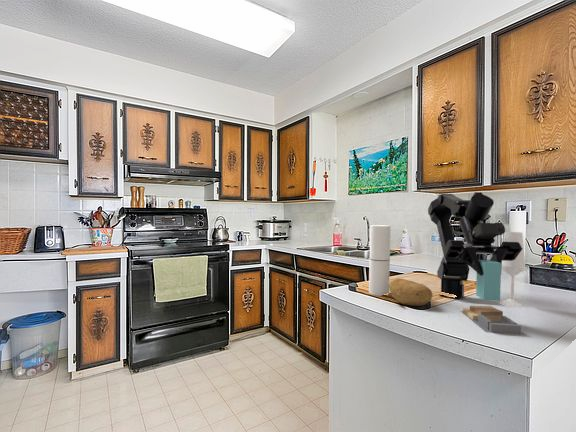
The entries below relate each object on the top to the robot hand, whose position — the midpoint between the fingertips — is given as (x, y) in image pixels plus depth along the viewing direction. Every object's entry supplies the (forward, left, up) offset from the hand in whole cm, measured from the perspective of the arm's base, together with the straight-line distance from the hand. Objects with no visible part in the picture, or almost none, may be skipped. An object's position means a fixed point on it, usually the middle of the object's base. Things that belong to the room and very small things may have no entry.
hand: (490, 275), depth 81 cm
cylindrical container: (-36, +7, -14) cm, 39 cm away
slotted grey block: (0, 0, -13) cm, 14 cm away
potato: (-22, +1, -14) cm, 26 cm away
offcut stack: (-2, +3, -12) cm, 13 cm away
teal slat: (-1, +1, -7) cm, 7 cm away
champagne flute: (+1, +27, -14) cm, 30 cm away
